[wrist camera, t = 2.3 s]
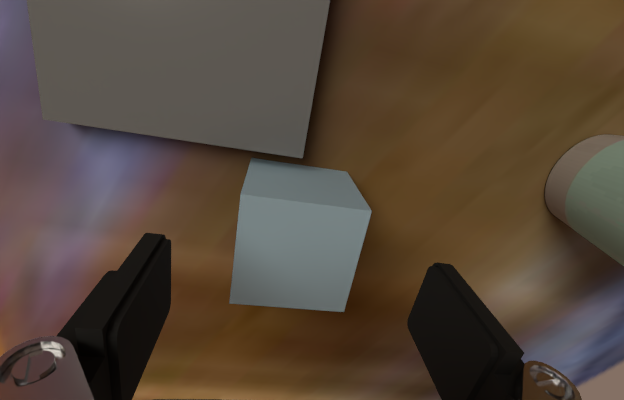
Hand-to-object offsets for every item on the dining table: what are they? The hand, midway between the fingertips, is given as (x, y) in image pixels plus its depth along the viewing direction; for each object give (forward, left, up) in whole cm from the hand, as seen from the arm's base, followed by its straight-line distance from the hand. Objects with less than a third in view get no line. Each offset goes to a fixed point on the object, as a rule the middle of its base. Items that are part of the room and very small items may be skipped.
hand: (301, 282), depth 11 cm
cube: (-1, 0, -8) cm, 8 cm away
